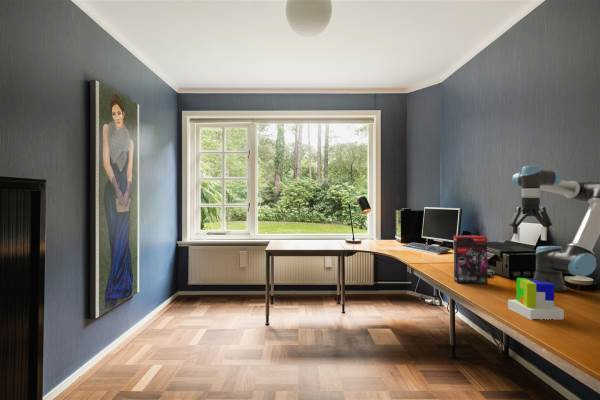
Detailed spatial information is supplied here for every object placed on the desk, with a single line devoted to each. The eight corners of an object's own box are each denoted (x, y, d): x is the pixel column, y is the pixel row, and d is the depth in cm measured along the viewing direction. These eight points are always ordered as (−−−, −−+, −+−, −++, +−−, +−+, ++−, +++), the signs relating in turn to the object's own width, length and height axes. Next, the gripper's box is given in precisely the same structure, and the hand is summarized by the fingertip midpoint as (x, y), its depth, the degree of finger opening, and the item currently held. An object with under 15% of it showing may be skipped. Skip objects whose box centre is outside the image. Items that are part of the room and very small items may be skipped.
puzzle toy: (554, 308, 140) (554, 284, 140) (527, 307, 142) (527, 283, 141) (541, 301, 149) (541, 278, 149) (516, 300, 151) (516, 277, 151)
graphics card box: (456, 283, 196) (456, 236, 196) (452, 280, 203) (453, 235, 203) (488, 284, 194) (488, 236, 194) (483, 281, 201) (483, 235, 201)
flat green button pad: (465, 270, 234) (465, 263, 234) (495, 274, 222) (495, 267, 222) (458, 274, 220) (458, 267, 220) (489, 279, 208) (490, 271, 208)
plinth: (538, 308, 153) (538, 299, 153) (563, 319, 139) (563, 309, 139) (508, 308, 152) (508, 299, 152) (530, 319, 138) (530, 310, 138)
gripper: (549, 197, 172) (548, 239, 172) (501, 197, 171) (500, 239, 171) (561, 197, 164) (560, 241, 164) (511, 197, 163) (510, 241, 163)
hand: (530, 240), depth 168 cm, fingers open, 13 cm apart
